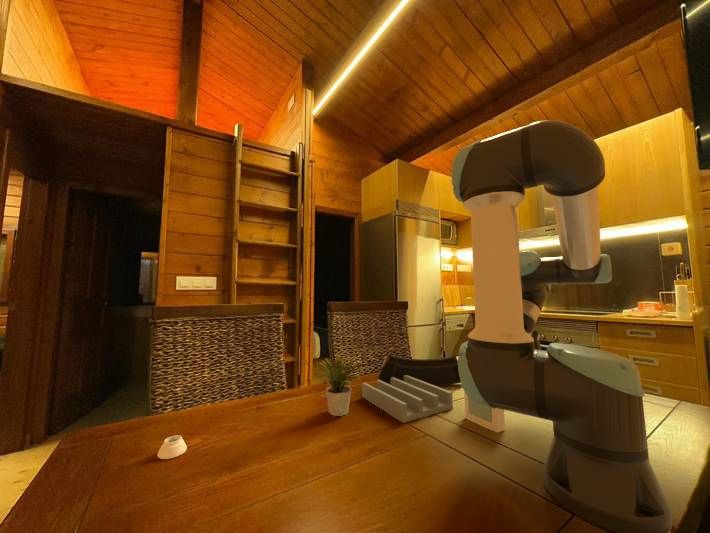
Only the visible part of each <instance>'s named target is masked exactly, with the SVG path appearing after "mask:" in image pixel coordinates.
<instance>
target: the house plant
mask: <svg viewBox="0 0 710 533" xmlns="http://www.w3.org/2000/svg"><path fill="white" fill-rule="evenodd" d="M350 355H351V353H349V354H348V355H347V356H346V357H345V359H344V360H343V361H342V357H341V354H340V353H339V351H338V350H337V352H336V358H335V359H336V360H335V365H334V363H333V361H332V360H331V359H330V358H326V357H324V360H325V361H326V362H325V361H324V360H322V362H318V364H320V365H321V366H323V368H324V369H325V370H326V372H325V371H320V372H319V374H320V375H323V376H325V377H326V378H327V379H326V378H323V379H322V380H321V386H323V385H326V384H330V385H331V386H328V387H326V388H325V394H326V401H327V402H326V403H327V408H328V414H329V413H330V414H331V415H334V416H333V417H335V416H341V417H344V416H343V415H345V416H346V414H347V413H349V409H350V408H349V406H350V401H351V394H352V388H351V384H352V382H351V381H353V380H360V381H362V378H361V375H360V374H354V373H353V372H356V371H359V370H364V369H365V370H366V367H356V366H358V364H359V363H361V361H358V362H355V361H356V360H357V359H358V358H359V356H357V357H354V358H353V359H351V361H350V362H348V364H347V361H348V359H349V358H350ZM345 365H346V366H345ZM354 367H355V368H354ZM351 373H353V374H351ZM348 385H349V386H348ZM330 414H329V415H330ZM331 415H330V416H331ZM347 415H348V414H347Z"/></svg>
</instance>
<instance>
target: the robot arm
mask: <svg viewBox="0 0 710 533" xmlns="http://www.w3.org/2000/svg"><path fill="white" fill-rule="evenodd" d="M452 162H453V163H452V166H451V186H453V189H452V192H453V195H454V197H455V199H456V200H457V201H458V202H461V203H462V207H463V208H464V209H465V210H466V211H467V212H469V213H470V223H471V243H472V244H471V246H472V247H471V248H472V270H473V272H472V273H473V275H472V276H473V295H474V296H473V297H474V318H475V319H474V320H475V321H474V322H475V325H474V328H473V329H472V330H471V331H470V332H469V333H468V334H467V341H464V342H463V343H461V345H460V347H459V350H458V357H457V360H458V371H459V377H460V381H461V383H460V384H461V387H462V389H463V392H464V391H465V393H466V394H467V396H468V397H469V398H470V399H471V400H472V401H474V402H477V403H480V404H484V405H487V406H489V407H491V408H499V409H503V410H504V411H507V412H512V413H515V414H521V415H524V416H529V417H534V418H539V419H543V420H547V421H551V422H552V428H553V437H552V441H551V443H550V448H549V449H548V453H547V455H546V460H545V462H544V464H543V465H544V466H543V476H544V477H543V478H544V481H543V482H544V486H545V487H546V490H547V491H548V493H549V494H550V495H551V496H552V497H553V499H554V500H556V501H557V502H558V503H559V504H560V505H562V506H563V507H564V508H565V509H567V510H568V511H570V512H571V513H573V514H574V515H576V516H578V517H579V518H581V519H582V520H585V521H587V522H589V523H591V524H593V525H595V526H598V527H600V528H601V529H604V530H608V531H611V532H613V533H668V532H669V531H670V530H671V528H672V526H673V527H674V525H673V516H672V515H673V514H672V508H671V506H670V504H669V502H668V498H667V496H666V495H665V492H664V490H663V488H662V485H661V483H660V482H659V479H658V477H657V475H656V473H655V471H654V469H653V467H652V465H651V462H650V457H649V456H650V455H649V448H648V446H649V445H648V436H647V428H646V418H645V410H644V408H645V407H644V400H643V397H645V391H644V389H643V385H642V379H641V373H640V372H641V371H640V370H639V367H638V366H637V365H636V364H635V363H634V362H633V361H631V360H630V359H629V358H627V357H624V356H622V355H619V354H616V353H614V352H609V351H607V350H603V349H598V348H594V347H590V346H589V347H588V346H584V345H578V344H573V343H563V342H551V343H549V344H548V346H547V347H546V350H544V349H543V350H542V346H541V340H542V337H541V335H540V333H539V332H538V331H537V330H533V329H534V327H535V324H536V323H537V321H538V319H539V316H540V314H541V312H542V310H543V307H544V305H545V303H546V301H547V299H548V298H549V296H550V293H551V289H552V285H588V284H589V285H594V284H607V283H610V282H611V281H612V279H613V274H612V260H611V256H610V255H609V254H607V253H602V252H601V229H600V228H601V227H600V226H601V225H600V197H599V196H600V195H599V187H600V185H601V184H602V183H603V181H604V180H605V178H606V163H605V158H604V155H603V152H602V150H601V148H600V146H599V145H598V144H597V142H596V141H595V140H594V138H592V137H591V136H590V135H589V133H587V132H585V131H584V130H582V129H581V128H580V127H579V126H576V125H573V124H572V123H569V122H566V121H563V120H562V121H561V120H553V119H549V120H548V119H547V120H546V119H545V120H540V121H534V122H532V123H530V124H527V125H525V126H521V127H519V128H516V129H512V130H510V131H507V132H503V133H499V134H497V135H495V136H492V137H488V138H485V139H479V140H476V141H475V142H473V143H470V144H468V145H466V146H463V147H461V148H460V149H459V150H458V152H457V153H456V154H455V156H454V159H453V161H452ZM539 186H543V188H544V190H545V192H546V193H547V194H548V195H550V196H551V200H552V206H553V212H554V217H555V222H556V223H555V224H556V228H557V233H558V234H557V236H558V239H559V240H558V241H559V246H560V251H561V256H556V257H540V254H539V253H537V252H536V251H532V250H523V251H520V241H519V240H520V239H519V237H520V236H519V235H520V234H519V220H518V219H519V218H518V207H520V205H522V203H523V202H524V201H525V200H526V190H527V189H531V188H536V187H539Z"/></svg>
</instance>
